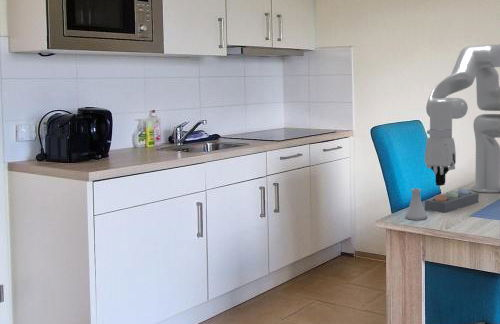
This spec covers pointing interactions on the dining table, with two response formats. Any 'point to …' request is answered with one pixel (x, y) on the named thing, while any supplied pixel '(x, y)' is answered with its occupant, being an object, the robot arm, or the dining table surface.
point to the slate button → (463, 191)
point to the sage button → (452, 194)
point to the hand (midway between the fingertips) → (440, 185)
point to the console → (452, 202)
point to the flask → (416, 207)
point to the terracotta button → (440, 198)
